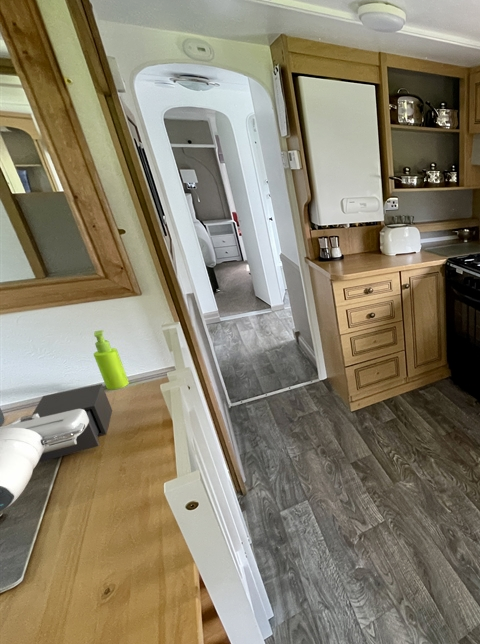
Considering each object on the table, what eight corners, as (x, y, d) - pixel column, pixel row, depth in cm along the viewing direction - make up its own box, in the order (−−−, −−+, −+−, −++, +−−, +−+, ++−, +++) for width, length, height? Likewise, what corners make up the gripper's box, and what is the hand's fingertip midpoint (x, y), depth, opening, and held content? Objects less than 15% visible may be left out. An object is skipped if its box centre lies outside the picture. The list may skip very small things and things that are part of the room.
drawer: (96, 454, 98) (85, 429, 95) (33, 472, 92) (19, 446, 89) (105, 421, 111) (96, 399, 108) (50, 435, 105) (39, 411, 102)
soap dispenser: (128, 378, 137) (110, 327, 129) (128, 386, 132) (109, 333, 124) (107, 383, 133) (87, 331, 126) (106, 391, 128) (85, 337, 121)
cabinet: (106, 434, 107) (94, 405, 103) (43, 451, 100) (28, 420, 97) (112, 410, 118) (101, 383, 114) (56, 424, 111) (42, 396, 107)
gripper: (76, 420, 78) (88, 392, 88) (-83, 459, 66) (-48, 421, 77) (88, 445, 80) (97, 414, 90) (-64, 486, 69) (-33, 446, 79)
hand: (29, 418), depth 83 cm, fingers closed
